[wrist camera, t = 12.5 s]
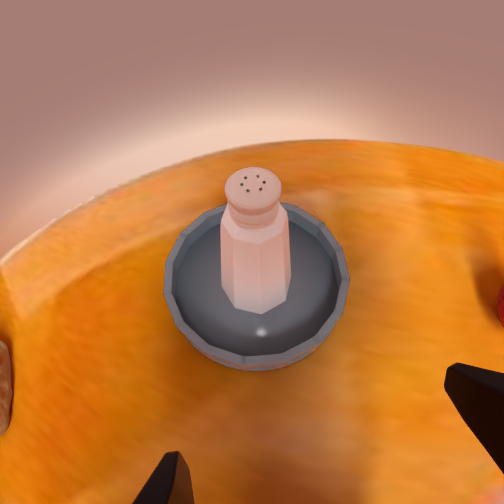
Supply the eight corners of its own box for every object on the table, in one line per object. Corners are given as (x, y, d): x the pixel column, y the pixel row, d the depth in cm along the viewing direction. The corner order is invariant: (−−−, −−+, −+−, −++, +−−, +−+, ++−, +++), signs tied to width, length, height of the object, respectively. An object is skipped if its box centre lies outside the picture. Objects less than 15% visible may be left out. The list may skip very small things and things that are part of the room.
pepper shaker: (284, 248, 26) (294, 143, 17) (297, 309, 23) (321, 220, 14) (218, 257, 26) (196, 154, 16) (225, 320, 23) (199, 236, 14)
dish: (318, 393, 21) (324, 390, 19) (144, 335, 24) (133, 325, 21) (354, 238, 28) (361, 222, 26) (209, 201, 30) (206, 184, 28)
